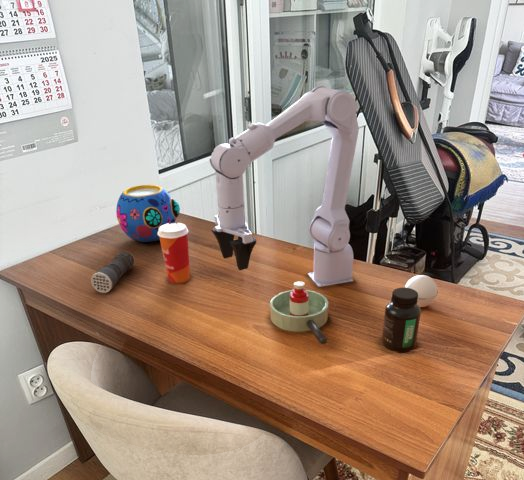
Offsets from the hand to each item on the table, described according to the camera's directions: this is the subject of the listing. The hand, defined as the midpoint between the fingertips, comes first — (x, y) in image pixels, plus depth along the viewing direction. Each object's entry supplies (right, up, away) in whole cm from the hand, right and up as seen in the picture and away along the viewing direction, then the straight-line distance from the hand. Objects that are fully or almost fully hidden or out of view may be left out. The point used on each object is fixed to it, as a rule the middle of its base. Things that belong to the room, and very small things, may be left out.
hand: (235, 262), depth 118 cm
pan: (+14, -13, -2) cm, 19 cm away
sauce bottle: (+14, -12, -2) cm, 19 cm away
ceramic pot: (-28, +14, +41) cm, 52 cm away
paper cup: (-16, -1, +18) cm, 24 cm away
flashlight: (-32, -2, +18) cm, 37 cm away
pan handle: (+17, -17, -11) cm, 27 cm away
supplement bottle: (+34, -19, -12) cm, 41 cm away
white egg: (+43, -10, +1) cm, 44 cm away
